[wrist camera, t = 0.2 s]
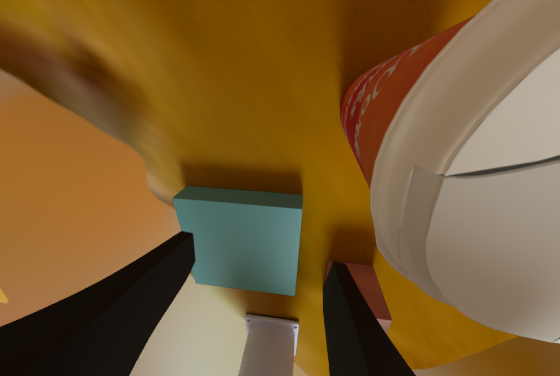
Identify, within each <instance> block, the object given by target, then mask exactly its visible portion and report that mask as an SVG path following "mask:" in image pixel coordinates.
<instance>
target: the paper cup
mask: <svg viewBox="0 0 560 376" xmlns="http://www.w3.org/2000/svg"><path fill="white" fill-rule="evenodd" d="M340 119H341V124H342V127H343V130H344V132H345V135H346V137H347V139H348V142H349V144H350V146H351V148H352V151H353V153H354V155H355V157H356V159H357V162H358V164H359V166H360V168H361V170H362V173H363V175H364V177H365V179H366V181H367V183H368V186H369V188H370V209H371V214H372V219H373V224H374V230H375V237H376V245H377V248H378V250H379V251H380V252H381V254H382V255H383V257H384V258H385V259H386V261H387V262H388V263H389V264H390V265H391V266H392V267H393V268H394V269H396V270H397V271H398V272H399V273H400V274H401V275H403V276H404V277H406V278H407V279H409V280H410V281H412V282H414V283H415V284H416V285H417V286H418V287H419V288H420V289H421V290H423V291H424V292H425V293H426V294H428V295H429V296H431V297H432V298H434V299H436V300H439V301H441V302H443V303H446V304H448V305H451V306H454V307H455V308H456V309H457V310H458V311H460V312H461V313H463V314H464V315H466V316H467V317H469V318H470V319H472V320H474V321H476V322H478V323H481V324H483V325H485V326H488V327H490V328H493V329H496V330H500V331H504V332H508V333H511V334H515V335H519V336H524V337H529V338H533V339H538V340H542V341H547V342H553V343H560V0H492V1H491V2H490V3H489V4H488V5H487V6H485V7H484V8H483V9H482V10H481V11H480V12H479V13H478V14H477V15H475V16H473V17H471V18H469V19H467V20H465V21H463V22H461V23H459V24H457V25H455V26H453V27H451V28H449V29H447V30H445V31H443V32H441V33H439V34H437V35H435V36H433V37H431V38H429V39H427V40H425V41H423V42H421V43H419V44H417V45H415V46H413V47H411V48H409V49H407V50H405V51H403V52H401V53H399V54H397V55H395V56H393V57H391V58H389V59H387V60H385V61H383V62H382V63H380V64H378V65H376V66H374V67H372V68H370V69H369V70H367V71H365V72H364V73H363V74H361V75H360V76H359V77H358V78H356V79H355V80H354V81H353V83H352V84H351V85H350V86H349V88H348V89H347V91H346V93H345V95H344V97H343V100H342V103H341V108H340Z"/></svg>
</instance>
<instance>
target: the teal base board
mask: <svg viewBox="0 0 560 376" xmlns="http://www.w3.org/2000/svg"><path fill="white" fill-rule="evenodd" d="M172 199H173V202H174V206H175V209H176V213H177V217H178V220H179V224H180V228H181V231H185V232H190V233H193V236H194V248H195V260H196V261H195V263H194V266H193V268H192V271H193V275H194V279H195V282H196V283H198V284H205V285H213V286H221V287H228V288H236V289H243V290H251V291H259V292H266V293H274V294H282V295H289V296H295V288H296V277H297V265H298V254H299V242H300V230H301V219H302V206H303V195H299V194H286V193H273V192H260V191H248V190H235V189H222V188H209V187H196V186H186V187H185V188H184V189H183V190H181V191H180V192H179V193H178V194H177V195H176V196H174V197H173V198H172Z"/></svg>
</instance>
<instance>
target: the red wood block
mask: <svg viewBox="0 0 560 376" xmlns="http://www.w3.org/2000/svg"><path fill="white" fill-rule="evenodd" d="M334 262H335V261H334ZM332 263H333V261H328V263H327V268H326V273H325V279H324V283H325V281H326V278H327V276H328V273H329V271H330V268H331V265H332ZM339 263H344V262H339ZM344 264H346V265H347V267H348V269H349V271H350V273H351V275H352V277H353V278H354V280H355V282H356V284H357V286H358V288H359V290H360V291H361V293H362V295H363V297H364V298H365V300H366V302H367V304H368V305H369V307H370V309H371V310H372V312H373V314H374V315H375V317H376V319H377V320H378V322H379V323H380V325H381V326H382V328H383V330H384V331H385V333H387V331H388V329H389V327H390V325H391V322H392V318H391V316H390V313H389V310H388V307H387V305H386V302H385V299H384V296H383V293H382V291H381V288H380V285H379V282H378V279H377V277H376V274H375V271H374V268H373V266H371V265H362V264H353V263H344ZM323 286H324V284H323Z"/></svg>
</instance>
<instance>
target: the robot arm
mask: <svg viewBox="0 0 560 376" xmlns="http://www.w3.org/2000/svg"><path fill="white" fill-rule="evenodd" d="M195 261H196V260H195V248H194V236H193V233H190V232H185V231H181V232H179V233H178V234H176V235H175V236H173V237H171V238H170V239H169V240H167V241H165V242H164V243H162V244H161V245H160V246H158V247H156V248H155V249H153V250H151V251H150V252H148V253H147V254H145V255H144V256H142V257H140V258H139V259H137V260H136V261H134V262H132V263H130V264H129V265H127V266H126V267H124V268H122V269H120V270H119V271H117V272H115V273H113V274H112V275H110V276H108V277H106V278H105V279H103V280H101V281H99V282H97V283H95V284H93V285H91V286H89V287H88V288H85V289H83V290H82V291H80V292H78V293H76V294H73V295H71V296H69V297H67V298H65V299H63V300H60V301H58V302H56V303H54V304H52V305H50V306H48V307H45V308H43V309H41V310H39V311H37V312H34V313H32V314H30V315H27V316H25V317H23V318H20V319H18V320H16V321H13V322H11V323H9V324H6V325H4V326H1V327H0V376H129V375H130V373H131V371H132V369H133V367H134V365H135V363H136V361H137V360H138V358H139V356H140V354H141V352H142V350H143V349H144V347H145V345H146V343H147V341H148V339H149V338H150V336H151V334H152V333H153V331H154V329H155V328H156V326H157V324H158V323H159V321H160V320H161V318H162V317H163V315H164V314H165V312H166V311H167V309H168V307H169V306H170V305H171V303H172V301H173V300H174V298H175V297H176V295H177V294H178V292H179V291H180V289H181V287H182V286H183V284H184V283H185V281H186V279H187V278H188V276H189V274H190V272H191V270H192V268H193V266H194V263H195ZM323 315H324V324H325V333H326V343H327V352H328V361H329V372H330V376H416V375H415V374H414V372H413V371H412V370H411V368H410V367H409V366H408V364H407V363H406V362H405V360H404V359H403V357H402V356H401V355H400V353H399V352H398V350H397V349H396V348H395V346H394V345H393V343H392V342H391V340H390V339H389V337H388V336H387V334H386V333H385V331H384V330H383V328H382V326H381V325H380V323H379V322H378V320H377V319H376V317H375V315H374V314H373V312H372V310H371V309H370V307H369V305H368V304H367V302H366V300H365V298H364V297H363V295H362V293H361V291H360V290H359V288H358V286H357V284H356V282H355V280H354V278H353V277H352V275H351V273H350V271H349V269H348V267H347V265H346V264H344V263H339V262H334V261H333V263H332V265H331V268H330V271H329V273H328V276H327V278H326V281H325V283H324V286H323ZM245 320H246V329H247V341H246V345H245V349H244V353H243V358H242V362H241V366H240V370H239V374H238V376H293V364H294V356H295V355H296V347H297V338H298V329H299V322H297V321H293V320H286V319H279V318H272V317H265V316H258V315H251V314H247V315H246V317H245Z"/></svg>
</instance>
